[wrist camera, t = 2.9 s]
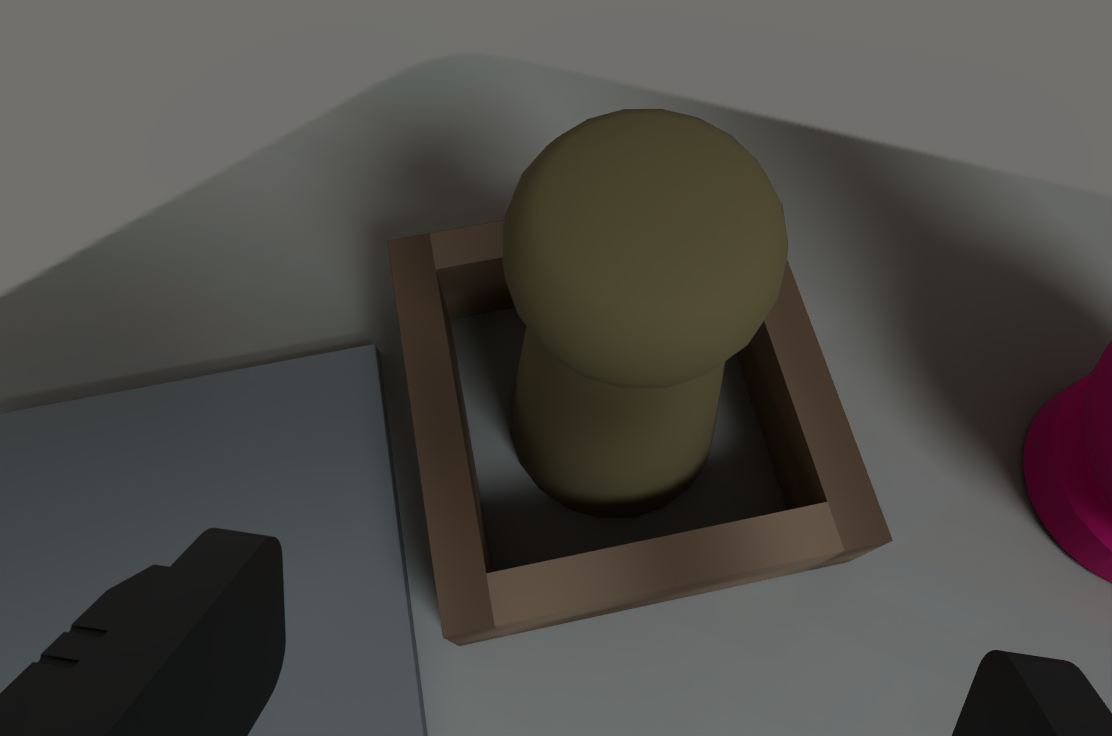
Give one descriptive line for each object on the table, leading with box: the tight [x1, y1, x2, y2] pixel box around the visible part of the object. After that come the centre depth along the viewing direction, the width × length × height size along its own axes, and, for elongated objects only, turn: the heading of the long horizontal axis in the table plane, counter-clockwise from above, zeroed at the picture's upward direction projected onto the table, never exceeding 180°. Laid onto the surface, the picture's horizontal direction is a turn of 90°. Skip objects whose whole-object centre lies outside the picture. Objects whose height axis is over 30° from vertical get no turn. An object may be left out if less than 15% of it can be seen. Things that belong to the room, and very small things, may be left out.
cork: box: [502, 109, 788, 518], centre depth 18 cm, size 6×6×11 cm
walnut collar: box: [388, 220, 893, 646], centre depth 21 cm, size 11×11×3 cm
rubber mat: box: [0, 344, 427, 736], centre depth 21 cm, size 11×11×1 cm
